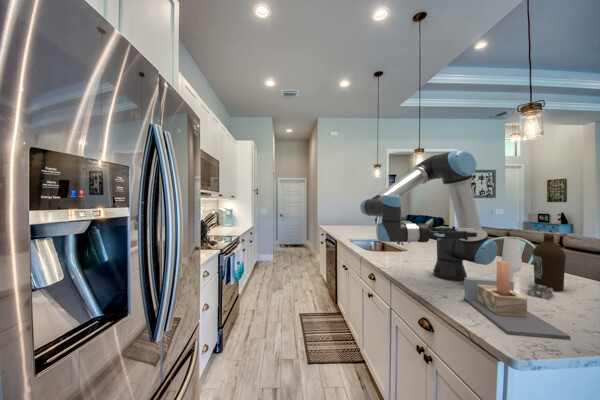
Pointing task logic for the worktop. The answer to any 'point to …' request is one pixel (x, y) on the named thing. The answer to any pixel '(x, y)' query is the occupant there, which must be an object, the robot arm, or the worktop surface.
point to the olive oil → (549, 264)
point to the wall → (472, 283)
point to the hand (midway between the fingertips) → (478, 233)
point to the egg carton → (539, 291)
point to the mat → (520, 323)
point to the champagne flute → (512, 255)
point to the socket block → (502, 301)
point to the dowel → (503, 278)
